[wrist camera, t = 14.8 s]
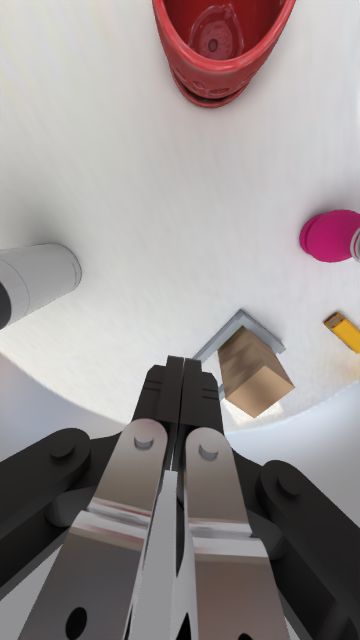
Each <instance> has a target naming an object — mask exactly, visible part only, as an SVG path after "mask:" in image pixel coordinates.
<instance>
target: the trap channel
mask: <svg viewBox="0 0 360 640" xmlns="http://www.w3.org/2000/svg"><path fill="white" fill-rule="evenodd" d="M242 325H243V326H244V327H246V328H247V329H248V330H249V331H251V332H252V333H253V334H255V335H256V336H257V337H258V338H260V339H261V340H262V341H264V342H265V343H266V344H267V345H269V346H270V347H271V348H272V350H273V352H274V353H275V354H276V353H277V352H278V353H279V354H281V353H282V352H283V351H284V350H286V348H285V347H284V345H283V344H282V343H281V341H280V340H278V339H277V338H276V337H275V336H273V335H272V334H271V333H269V332H268V331H267V330H266V329H264V328H263V327H262V326H261V325H259V324H258V323H257V322H256V321H254V320H253V319H252V318H251V317H249V316H248V315H247V314H246V313H244V312H243V311H242V310H241V309H240V310H239V311H238V312H237V313H236V314H235V315H234V316H233V318H232V319H231V320H230V321H229V322H228V323H227V324H226V325H225V326H224V327H223V328H222V329H221V330H220V331H219V332H218V333H217V334H216V335H215V336H214V337H213V338H212V339H211V340H210V341H209V342H208V343H207V344H206V345H205V346H204V347H203V348H202V349H201V350H200V351H199V353H198V354H197V355H196V356H195V357H194V358H193V359H197V360H201V364H202V363H203V362H204V361H205V360H206V359H207V358H209V357H210V356H211V355H212V354H213V353H214V352H215V351H216V350H218V349H219V348H220V347H221V346H222V345H223V344H224V343H225V342H226V341H227V340H228V339H229V338H230V337H231V336H232V335H233V334H234V333H235V332H236V331H237V330H238V329H239V328H240V327H241V326H242ZM218 393H219V401H221V400H222V399H223V398H224V397H225V393H224V387H223V384H222V385H221V386H220V387H219V388H218Z"/></svg>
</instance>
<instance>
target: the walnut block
mask: <svg viewBox="0 0 360 640" xmlns="http://www.w3.org/2000/svg"><path fill="white" fill-rule="evenodd" d="M218 356H219V362H220V369H221V375H222V381H223V387H224V393H225V399H226V400H228V401H229V402H231V403H232V404H234V405H235V406H237V407H238V408H240V409H241V410H243V411H244V412H246V413H247V414H249V415H250V416H251V417H253V418H256V417H257V416H258V415H260V414H261V413H262V412H264V411H265V410H266V409H268V408H269V407H270V406H271V405H273V404H274V403H275V402H277V401H278V400H279V399H281V398H282V397H283V396H285V395H286V394H287V393H289V392H290V391H291V390H293V389H294V388H295V387H294V385H293V384H292V382H291V380H290V379H289V377H288V375H287V374H286V372H285V370H284V369H283V367H282V365H281V364H280V362H279V360H278V358H277V357H276V355H275V353H274V352H273V350H272V348H271V347H270V346H269V345H267V344H266V343H265V342H264V341H262V340H261V339H260V338H258V337H257V336H256V335H255V334H253V333H252V332H251V331H249V330H248V329H247V328H246V327H244V326H243V325H242V326H241V327H240V328H239V329H238V330H237V331H236V332H235V333H234V334H233V335H232V336H231V337H230V338H229V339H228V340H227V341H226V342H225V343H224V344H223V345H222V346H221V347H220V348H219V349H218Z"/></svg>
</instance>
